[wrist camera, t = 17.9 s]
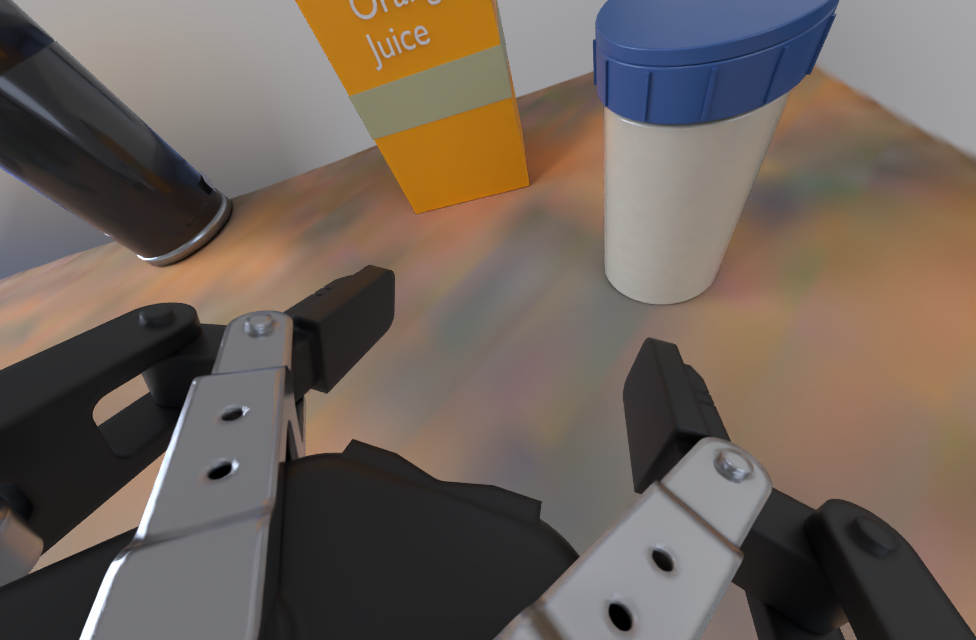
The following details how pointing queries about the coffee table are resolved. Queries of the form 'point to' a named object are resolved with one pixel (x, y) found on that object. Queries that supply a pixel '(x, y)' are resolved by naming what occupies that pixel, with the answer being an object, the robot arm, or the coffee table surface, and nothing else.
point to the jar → (677, 198)
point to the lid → (704, 55)
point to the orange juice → (429, 92)
